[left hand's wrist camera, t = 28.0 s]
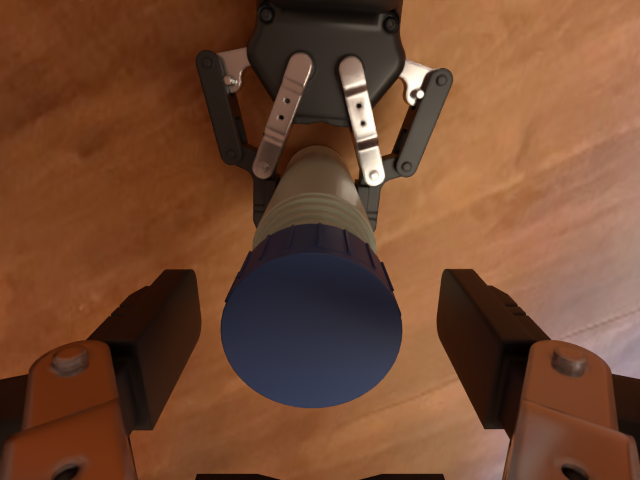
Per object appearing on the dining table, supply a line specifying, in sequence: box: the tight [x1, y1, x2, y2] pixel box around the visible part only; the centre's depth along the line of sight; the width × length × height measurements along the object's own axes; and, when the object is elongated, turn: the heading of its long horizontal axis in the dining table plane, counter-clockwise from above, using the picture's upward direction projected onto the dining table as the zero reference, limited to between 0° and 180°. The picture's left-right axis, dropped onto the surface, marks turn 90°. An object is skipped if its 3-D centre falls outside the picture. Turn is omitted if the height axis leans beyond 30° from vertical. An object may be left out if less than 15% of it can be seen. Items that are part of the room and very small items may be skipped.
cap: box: [221, 223, 402, 408], centre depth 11 cm, size 5×5×2 cm
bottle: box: [253, 145, 376, 254], centre depth 20 cm, size 5×5×20 cm
